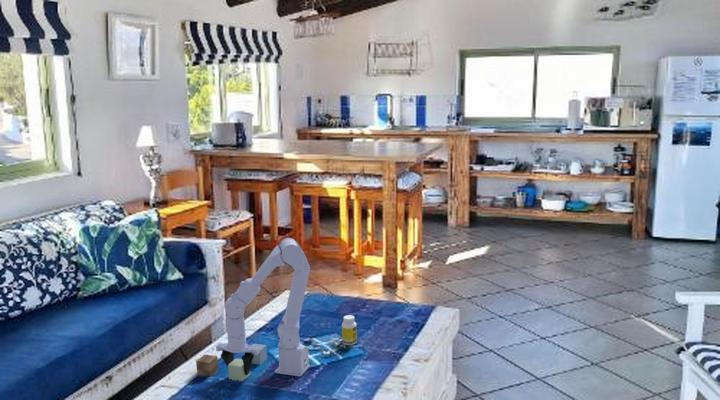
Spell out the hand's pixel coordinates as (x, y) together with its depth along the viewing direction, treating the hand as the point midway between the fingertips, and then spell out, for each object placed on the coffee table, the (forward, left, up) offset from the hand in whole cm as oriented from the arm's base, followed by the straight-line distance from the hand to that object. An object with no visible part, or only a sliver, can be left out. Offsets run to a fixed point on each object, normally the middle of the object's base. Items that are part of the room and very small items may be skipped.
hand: (239, 372), depth 202 cm
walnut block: (+12, 0, -2) cm, 12 cm away
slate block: (0, -12, -2) cm, 12 cm away
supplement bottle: (-26, -34, -2) cm, 43 cm away
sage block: (0, 0, -1) cm, 1 cm away
